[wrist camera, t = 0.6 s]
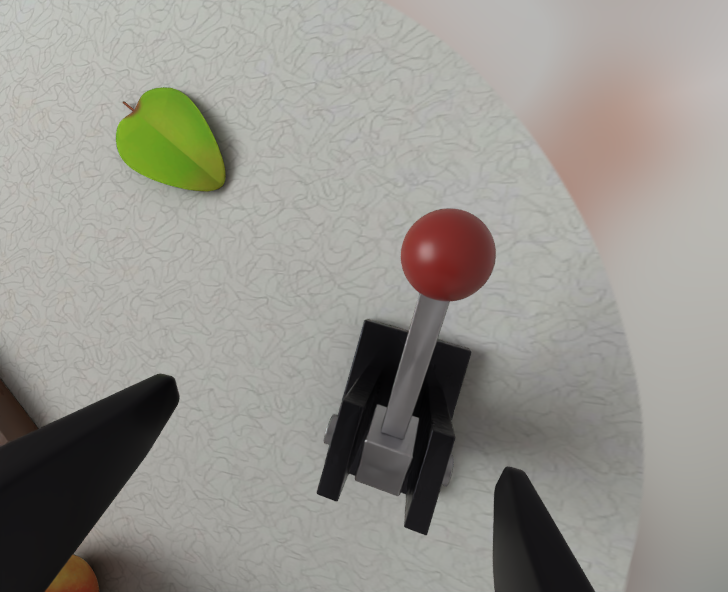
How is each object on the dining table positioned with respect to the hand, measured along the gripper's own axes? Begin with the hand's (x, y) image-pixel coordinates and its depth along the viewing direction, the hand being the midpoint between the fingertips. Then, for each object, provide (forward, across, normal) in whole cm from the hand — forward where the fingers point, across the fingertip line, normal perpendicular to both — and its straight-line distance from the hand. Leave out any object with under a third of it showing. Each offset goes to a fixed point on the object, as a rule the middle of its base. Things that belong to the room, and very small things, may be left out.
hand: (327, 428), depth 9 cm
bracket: (+11, -2, +11) cm, 15 cm away
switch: (+7, -2, +2) cm, 8 cm away
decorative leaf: (+19, +18, -2) cm, 26 cm away
